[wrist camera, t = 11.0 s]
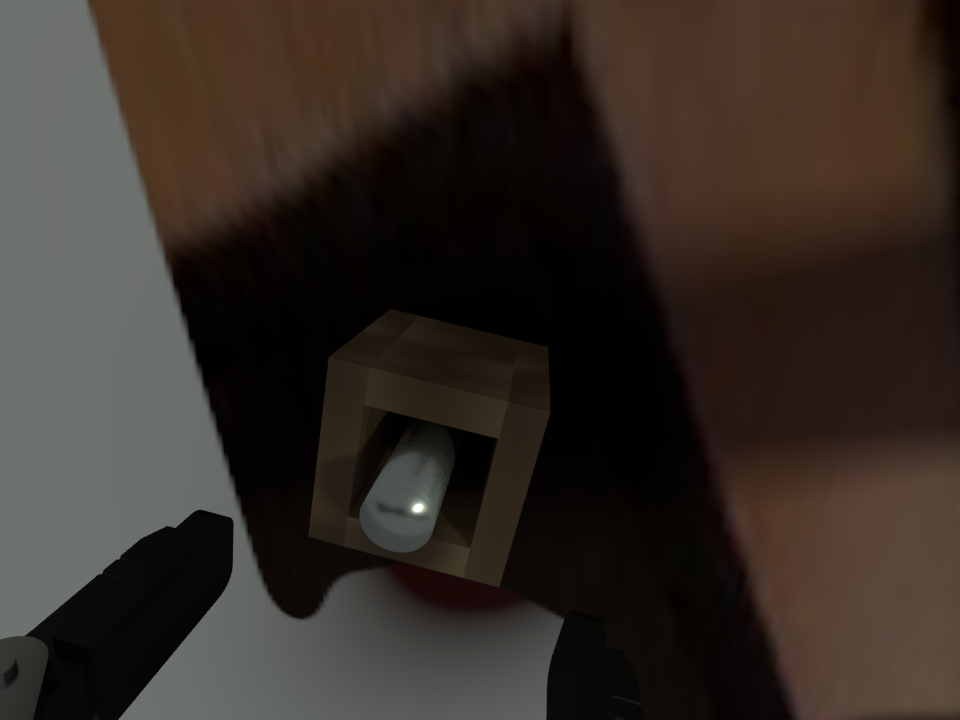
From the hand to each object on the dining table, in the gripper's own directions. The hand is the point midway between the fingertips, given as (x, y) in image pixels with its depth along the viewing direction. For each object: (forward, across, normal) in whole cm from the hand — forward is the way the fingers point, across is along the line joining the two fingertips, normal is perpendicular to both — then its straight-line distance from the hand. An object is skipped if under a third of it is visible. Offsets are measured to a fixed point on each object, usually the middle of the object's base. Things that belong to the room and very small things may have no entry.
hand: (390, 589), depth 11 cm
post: (+10, +1, 0) cm, 10 cm away
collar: (+10, 0, 0) cm, 10 cm away
